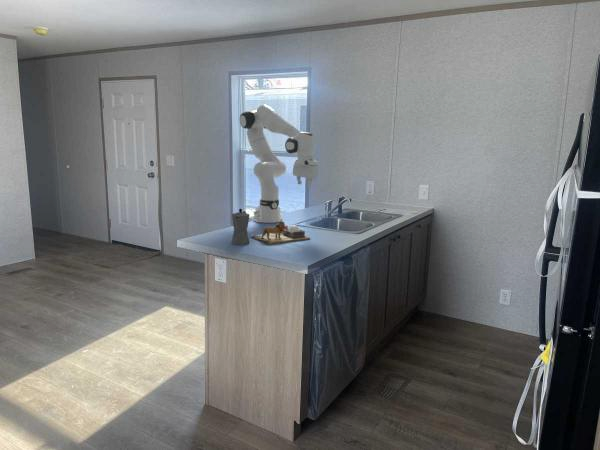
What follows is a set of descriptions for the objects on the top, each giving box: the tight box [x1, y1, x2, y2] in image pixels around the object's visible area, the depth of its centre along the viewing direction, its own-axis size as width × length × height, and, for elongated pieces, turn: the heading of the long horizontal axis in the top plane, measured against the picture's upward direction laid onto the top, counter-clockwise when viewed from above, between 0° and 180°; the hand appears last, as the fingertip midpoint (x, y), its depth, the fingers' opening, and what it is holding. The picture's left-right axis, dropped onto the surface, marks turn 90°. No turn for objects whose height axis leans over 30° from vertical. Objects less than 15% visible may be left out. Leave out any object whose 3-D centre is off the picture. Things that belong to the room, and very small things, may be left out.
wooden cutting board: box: [250, 228, 311, 246], centre depth 240 cm, size 19×26×4 cm
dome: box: [288, 224, 301, 232], centre depth 243 cm, size 6×6×6 cm
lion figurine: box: [261, 220, 286, 240], centre depth 233 cm, size 15×5×9 cm, turn 127°
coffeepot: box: [231, 208, 250, 246], centre depth 227 cm, size 15×9×18 cm, turn 171°
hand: (304, 185), depth 254 cm, fingers open, 8 cm apart
